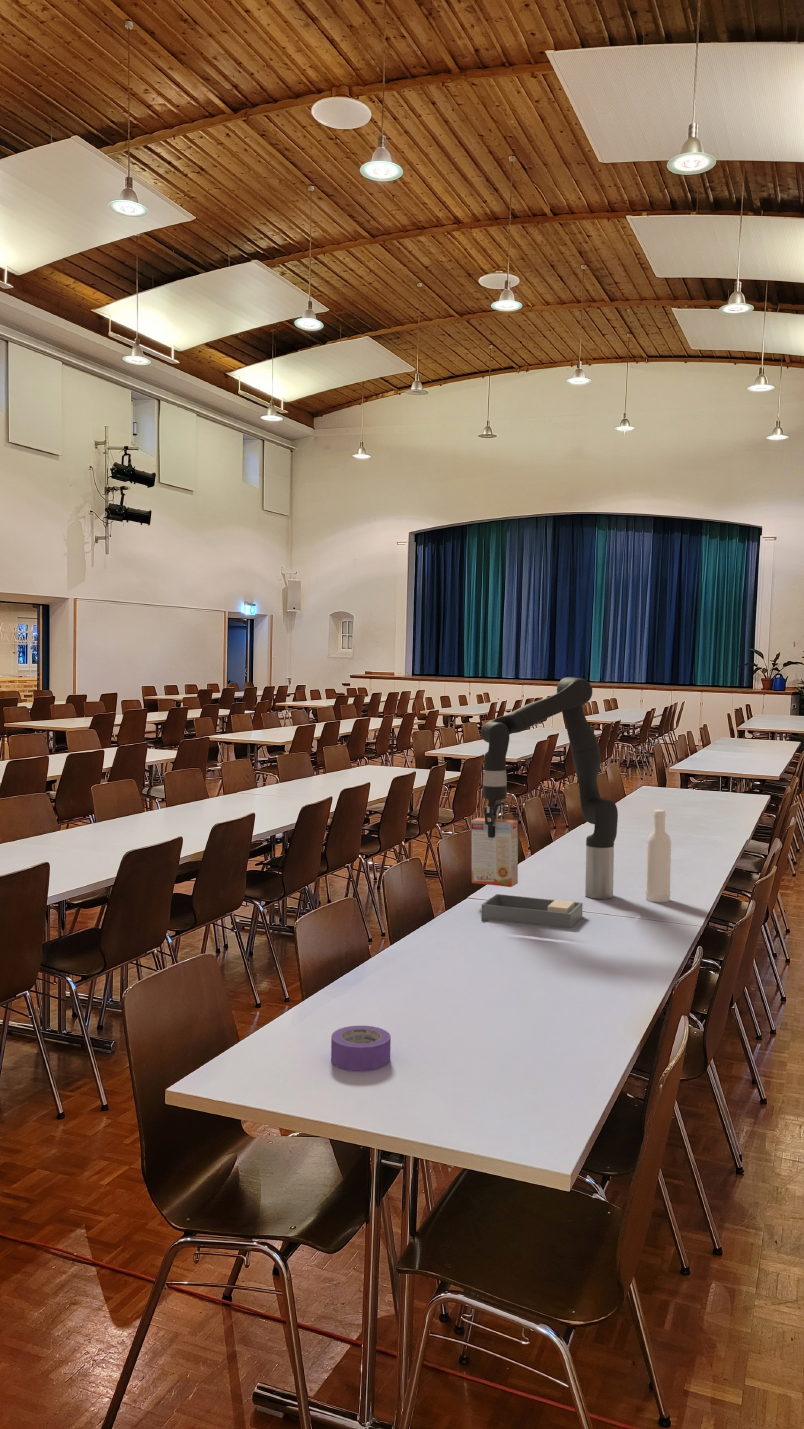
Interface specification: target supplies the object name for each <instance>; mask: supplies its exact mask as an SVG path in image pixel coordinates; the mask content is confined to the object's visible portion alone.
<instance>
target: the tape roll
mask: <svg viewBox="0 0 804 1429" xmlns="http://www.w3.org/2000/svg"><path fill="white" fill-rule="evenodd" d="M330 1036H331V1040H330V1041H331V1042H330V1045H331V1046H330V1048H331V1049H330V1062H331V1063H332V1065H333V1066H335V1067H336V1068H338V1069H341V1070H343V1071H349V1072H357V1073H358V1072H361V1073H362V1072H371V1071H372V1072H373V1071H376V1070H380V1069H383V1068H385V1067H386V1066H388V1065H389V1063H390V1061H391V1039H392V1038H391V1034H390V1032H388V1030H386V1029H383V1028H380V1027H377V1026H371V1025H352V1026H351V1025H350V1026H349V1025H348V1026H345V1027H344V1026H343V1027H341V1028H339V1029H336V1030H334V1031H333V1032H332V1034H331V1035H330Z"/></svg>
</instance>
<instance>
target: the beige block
mask: <svg viewBox="0 0 804 1429" xmlns="http://www.w3.org/2000/svg"><path fill="white" fill-rule="evenodd" d="M554 900H555V901H553V902H552V903H551V904H550V905H549V906H548V909H547V911H553V912H562V913H569V912H570V911H572V910H573V909H574V902H575V901H569V900H561V899H554Z"/></svg>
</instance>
